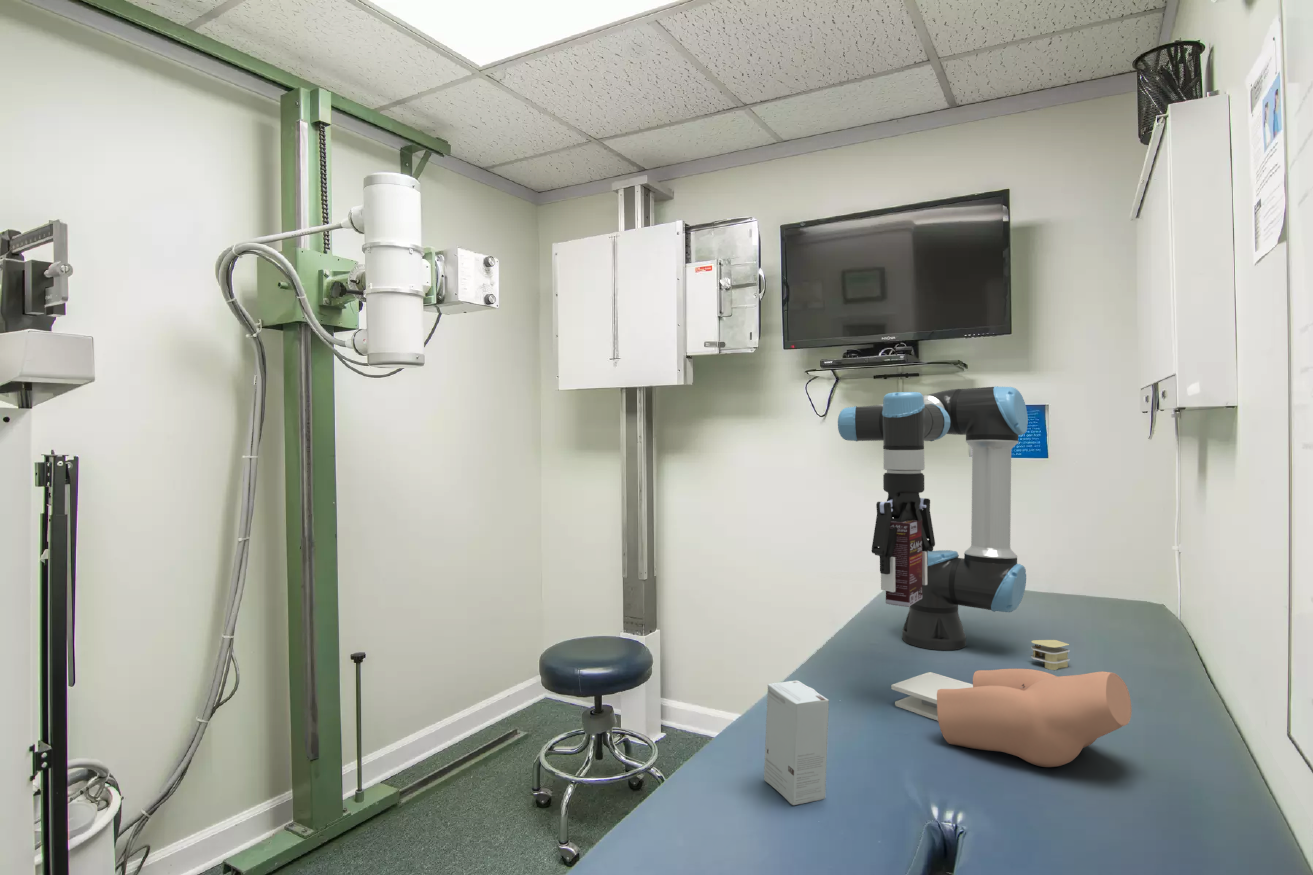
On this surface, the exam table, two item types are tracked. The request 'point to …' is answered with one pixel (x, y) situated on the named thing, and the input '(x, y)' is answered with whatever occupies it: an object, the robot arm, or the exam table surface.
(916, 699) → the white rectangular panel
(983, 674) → the medical training model
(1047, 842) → the exam table surface
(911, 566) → the supplement box
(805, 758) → the skincare box
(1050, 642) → the beige layered block
